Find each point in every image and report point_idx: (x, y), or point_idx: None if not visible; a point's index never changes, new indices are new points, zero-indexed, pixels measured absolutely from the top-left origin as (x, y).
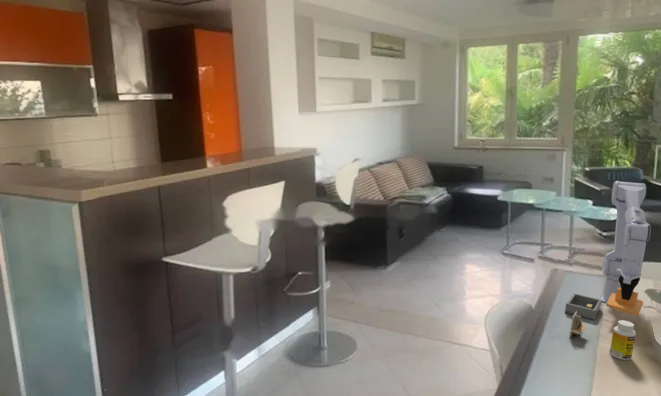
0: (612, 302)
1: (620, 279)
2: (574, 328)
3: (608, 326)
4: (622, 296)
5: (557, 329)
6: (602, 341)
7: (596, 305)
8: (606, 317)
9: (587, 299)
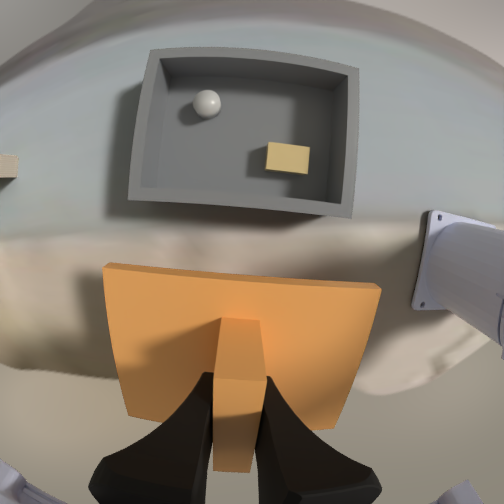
0: (154, 305)
1: (89, 484)
2: (8, 158)
3: None
4: (199, 384)
5: (14, 112)
6: (10, 252)
7: (226, 195)
8: (236, 249)
9: (342, 141)
